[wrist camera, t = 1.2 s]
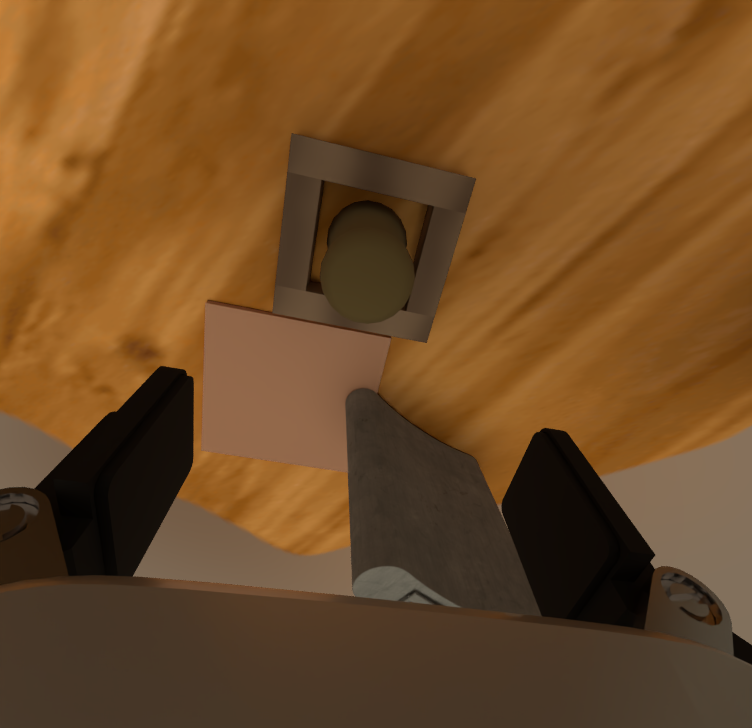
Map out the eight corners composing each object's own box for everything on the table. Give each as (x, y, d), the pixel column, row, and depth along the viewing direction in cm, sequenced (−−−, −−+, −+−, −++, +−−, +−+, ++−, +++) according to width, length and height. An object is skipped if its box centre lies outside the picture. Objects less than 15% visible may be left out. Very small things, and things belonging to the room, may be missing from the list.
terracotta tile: (390, 335, 34) (391, 338, 34) (356, 469, 41) (356, 473, 40) (208, 300, 32) (205, 302, 32) (203, 446, 39) (201, 450, 39)
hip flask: (483, 463, 41) (596, 698, 23) (455, 488, 42) (542, 729, 25) (360, 382, 35) (384, 608, 18) (332, 413, 37) (329, 654, 19)
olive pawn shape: (358, 296, 33) (355, 359, 23) (310, 233, 30) (284, 272, 21) (422, 253, 31) (447, 299, 21) (377, 182, 29) (382, 198, 19)
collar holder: (467, 176, 29) (476, 178, 26) (422, 330, 34) (426, 342, 32) (297, 134, 27) (291, 133, 25) (278, 302, 33) (272, 313, 30)
